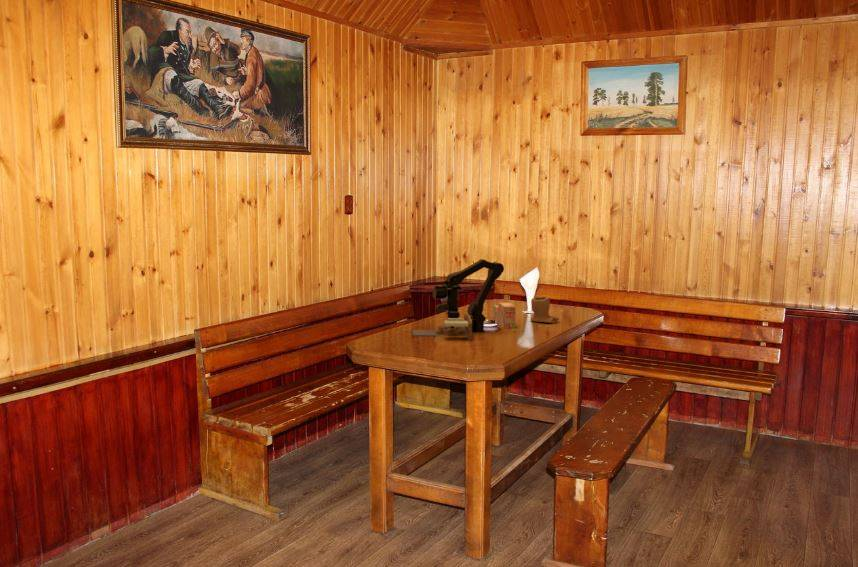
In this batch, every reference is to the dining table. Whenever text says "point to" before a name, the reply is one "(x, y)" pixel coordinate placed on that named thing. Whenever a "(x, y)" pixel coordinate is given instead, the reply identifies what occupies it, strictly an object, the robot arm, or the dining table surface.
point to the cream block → (451, 328)
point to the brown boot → (542, 310)
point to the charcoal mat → (424, 333)
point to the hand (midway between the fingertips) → (451, 327)
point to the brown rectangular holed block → (458, 329)
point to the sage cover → (456, 322)
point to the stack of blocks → (504, 314)
